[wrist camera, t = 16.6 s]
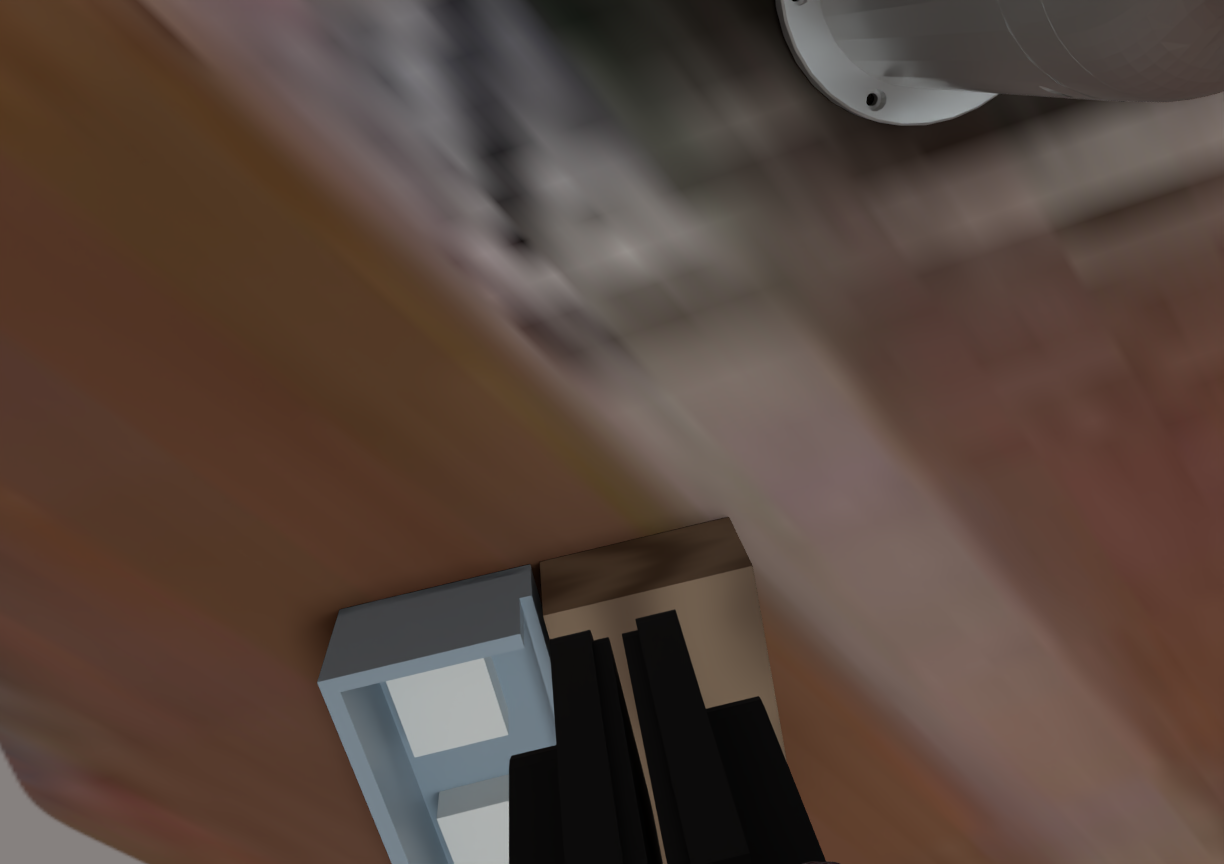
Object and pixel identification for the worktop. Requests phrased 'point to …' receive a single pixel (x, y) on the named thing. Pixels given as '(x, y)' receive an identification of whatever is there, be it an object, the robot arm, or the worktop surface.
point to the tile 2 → (476, 821)
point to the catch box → (423, 641)
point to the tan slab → (662, 581)
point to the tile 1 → (451, 706)
